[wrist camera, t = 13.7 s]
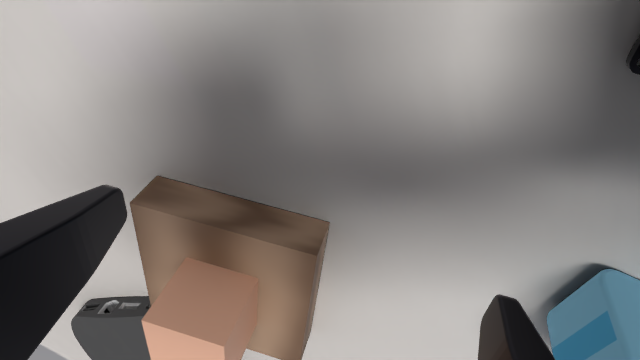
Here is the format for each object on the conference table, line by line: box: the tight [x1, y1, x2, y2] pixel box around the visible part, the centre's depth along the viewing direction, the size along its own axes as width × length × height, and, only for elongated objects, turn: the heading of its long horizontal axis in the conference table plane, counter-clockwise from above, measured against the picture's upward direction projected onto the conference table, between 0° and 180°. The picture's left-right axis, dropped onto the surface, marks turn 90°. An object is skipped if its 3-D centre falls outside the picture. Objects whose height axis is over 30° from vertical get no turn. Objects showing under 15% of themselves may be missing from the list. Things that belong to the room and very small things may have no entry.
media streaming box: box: [71, 297, 151, 360], centre depth 41 cm, size 15×15×3 cm
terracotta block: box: [141, 257, 258, 360], centre depth 27 cm, size 5×5×5 cm
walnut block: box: [130, 176, 330, 360], centre depth 30 cm, size 12×12×3 cm
